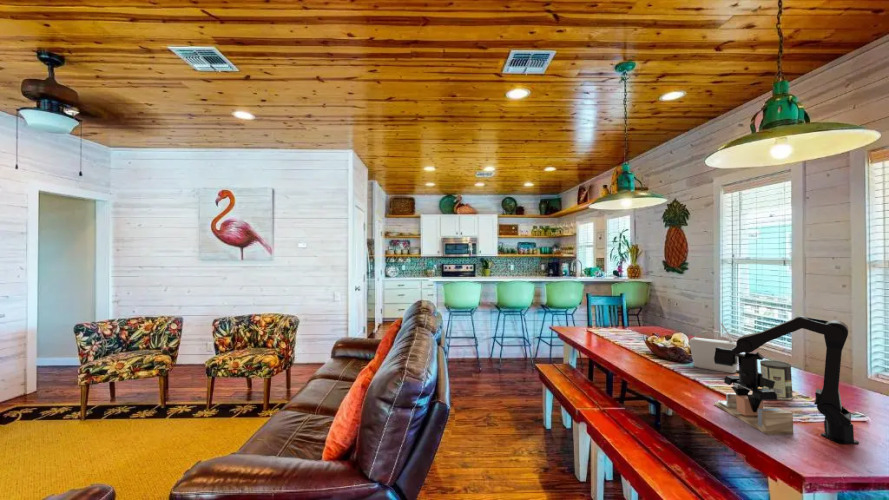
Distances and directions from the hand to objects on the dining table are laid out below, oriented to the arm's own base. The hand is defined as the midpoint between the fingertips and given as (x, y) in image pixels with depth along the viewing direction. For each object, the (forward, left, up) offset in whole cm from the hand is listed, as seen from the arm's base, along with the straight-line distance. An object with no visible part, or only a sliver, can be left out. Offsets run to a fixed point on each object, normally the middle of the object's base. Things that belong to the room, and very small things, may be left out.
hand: (750, 409), depth 141 cm
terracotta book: (0, 0, -1) cm, 1 cm away
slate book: (-9, 0, -3) cm, 10 cm away
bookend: (+9, 0, -2) cm, 10 cm away
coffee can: (+21, -28, -3) cm, 35 cm away
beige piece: (0, 0, -3) cm, 3 cm away
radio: (+59, -28, -3) cm, 65 cm away
